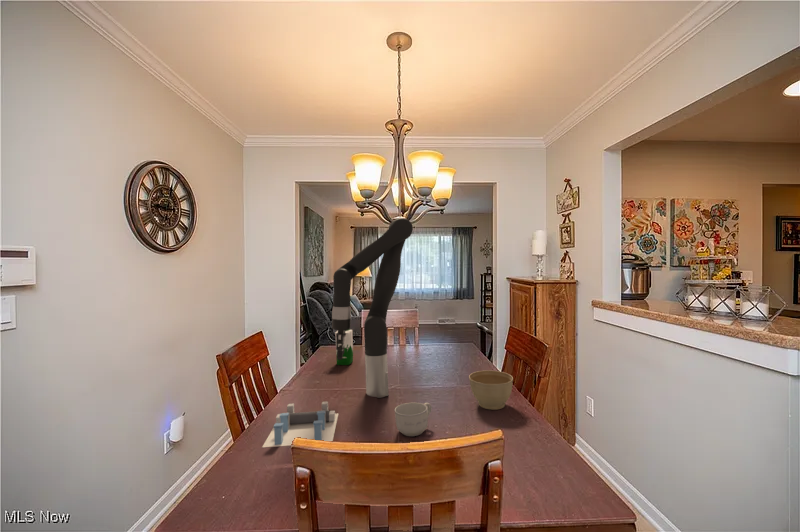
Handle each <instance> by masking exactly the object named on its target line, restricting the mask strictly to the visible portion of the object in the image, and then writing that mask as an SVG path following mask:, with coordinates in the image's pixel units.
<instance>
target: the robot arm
mask: <svg viewBox="0 0 800 532" xmlns="http://www.w3.org/2000/svg"><path fill="white" fill-rule="evenodd" d="M413 230H414V226H413V223H412V222H411V220H409V219H407V218H403V217H400V218H396V219H394V220H393V221H391V222H390V224H389V226H388V229H387V230H386V231H385V232H384V233H383V234H382V235H381V236H379V238H377V239H376V240H374V241H373V242H371V243H369V244H368V245H367V246H366V247H364V248H363V249H360V250H359V252H357V254H355V255H354V256H353V257H352V258H351V259H350V260H348V261H347V262H346V263H344V264H343V265H342V266H341V267H339V268H338V269H336V270H335V271H334V273H333V296H332V309H331V310H332V313H331V329H332V330H334V331H338V333H337V334H336V336H335V351H336V350H337V359H336V361H337V360H342V359H343V354H344V345H345V341H346V333H345V331H346V330H348V329H349V330H351V323H352V321H351V318H352V317H351V316H352V315H351V313H352V312H351V283H352V280H353V279H354V278H355V277H356V276H357V275H358V274H361V273H362V272H364V271H365V270H366V269H367V268H369V267H370V266H371V265H372V264H374V262H376V261H377V260H378V259H379V258H381V261H380V264H379V267H378V270H377V274H376V278H375V283H374V288H373V293H372V301H371V304H370V307H369V310H368V313H367V316H366V318H365V320H364V325H363V335H364V359H365V360H364V362H365V364H364V366H365V393H366V395H367V396H368V397H374V398H377V399H382V398H385V397H388V396H389V395H390V394H389V372H388V371H389V370H388V334H387V333H388V329H387V323H386V322H387V321H386V320H387V315H388V309H389V307H390V306H389V305H390V304H391V300H392V298H393V297H394V293H395V291H396V289H397V287H398V282H399V279H400V274H401V268H402V267H401V264H402V260H401V259H402V252H403V248H404V246H405V242H406V240H407V239H409V238H410V237H411V236H412V233H413ZM338 346H339V347H338Z"/></svg>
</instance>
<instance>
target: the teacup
mask: <svg viewBox="0 0 800 532" xmlns="http://www.w3.org/2000/svg"><path fill="white" fill-rule="evenodd" d="M431 412H432V405H431V403H429V402H425V403H422V402H414V401H413V402H406V403H405V402H404V403H401V404H399V405H397V406H396V407H395V408H394V416H395V417H394V419H395V425H396V428H397V430H398V432H400V433H402V435H404V436H406V437H415V436H416V437H417V436H419V435H422V434H423V432H425V430H427V427H428V423H429V419H428V418H429V416H430V415H431Z"/></svg>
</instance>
